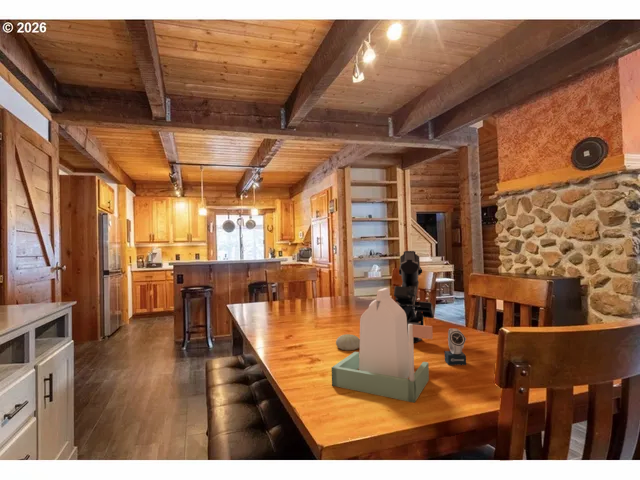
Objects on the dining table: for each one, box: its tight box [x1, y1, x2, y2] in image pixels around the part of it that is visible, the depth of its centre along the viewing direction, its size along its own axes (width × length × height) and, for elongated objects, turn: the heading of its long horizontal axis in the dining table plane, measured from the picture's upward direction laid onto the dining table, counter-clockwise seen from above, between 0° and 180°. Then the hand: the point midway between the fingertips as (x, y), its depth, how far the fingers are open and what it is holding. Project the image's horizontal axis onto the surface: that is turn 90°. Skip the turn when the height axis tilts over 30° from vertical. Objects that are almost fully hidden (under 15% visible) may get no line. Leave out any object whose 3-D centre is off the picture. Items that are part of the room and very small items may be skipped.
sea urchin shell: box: [335, 333, 360, 351], centre depth 131 cm, size 9×8×8 cm
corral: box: [331, 324, 434, 403], centre depth 97 cm, size 16×28×19 cm, turn 60°
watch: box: [444, 328, 467, 366], centre depth 113 cm, size 6×8×11 cm
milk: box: [358, 287, 409, 379], centre depth 101 cm, size 12×12×26 cm
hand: (400, 329), depth 115 cm, fingers closed
